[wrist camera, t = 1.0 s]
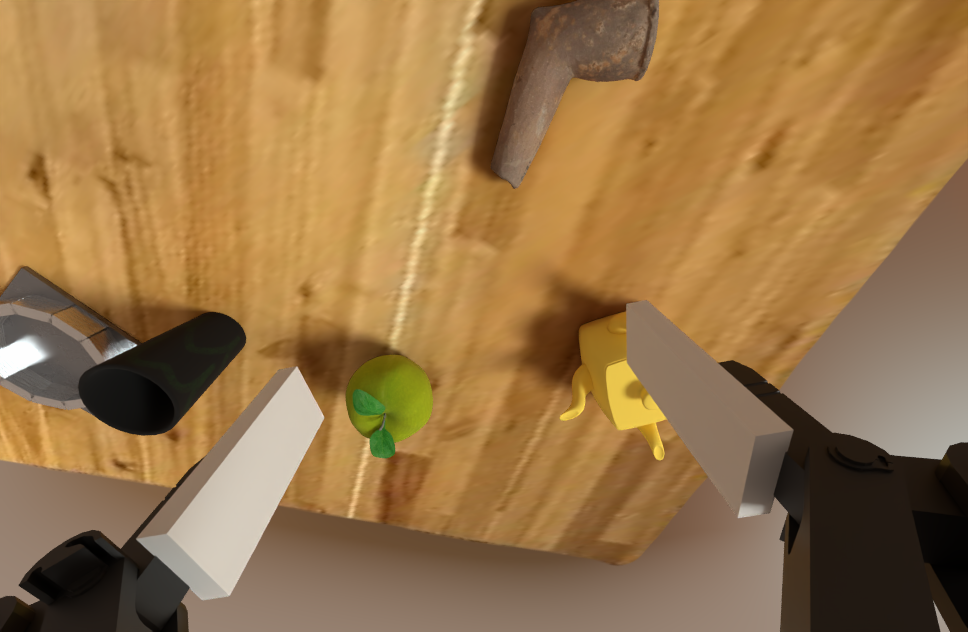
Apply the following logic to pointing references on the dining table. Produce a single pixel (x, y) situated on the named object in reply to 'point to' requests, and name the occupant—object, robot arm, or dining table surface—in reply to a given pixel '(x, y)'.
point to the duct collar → (51, 341)
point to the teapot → (613, 381)
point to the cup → (161, 375)
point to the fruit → (388, 401)
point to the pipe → (570, 67)
